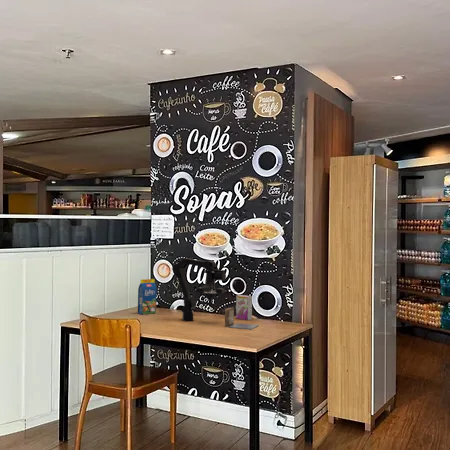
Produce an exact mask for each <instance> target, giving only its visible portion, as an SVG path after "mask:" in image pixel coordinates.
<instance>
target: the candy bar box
mask: <svg viewBox="0 0 450 450" xmlns="http://www.w3.org/2000/svg"><path fill="white" fill-rule="evenodd" d="M235 319H236V320H237V319H238V320H243V321H251V320H253V296H251V295H245V294H244V295H243V294H238V295H237V294H236V299H235Z"/></svg>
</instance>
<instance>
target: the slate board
mask: <svg viewBox="0 0 450 450" xmlns="http://www.w3.org/2000/svg"><path fill="white" fill-rule="evenodd" d="M257 326H258V327H259V326H260V325H259V324H251V323H249V324H248V323H234V325H232V326H229V327H228V328H230V329H240V330H241V329H242V330H253V329H256V328H258V327H257Z"/></svg>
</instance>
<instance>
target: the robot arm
mask: <svg viewBox="0 0 450 450" xmlns="http://www.w3.org/2000/svg"><path fill="white" fill-rule="evenodd" d="M188 265H191V266H197V267H200V268H203V269H204V271H203V272H202V273H203V274H205V278H206V279H205V283H204V284H203V286H202V287H197V288H196V289H195V292H196V293H201V292H202V293H203V295H206V297H207V300H208V302H209V304H212V302H213V300H214V298H215V296H216V295H217V294H226V290H225V288H222V287H221V288H216V286H215V285H216V281H225V280H226V279H227V274H226V272H225V270H224V269H219V267H218V265H217V263H216V261H214V260H199V259H194V258H189V257H185V258H183V259H181V260H180V261H178V262H177V263H176V264H173V265H172V267H171V271H172V273H173V275H174V276H175V277H176V278H177V279H178V283H179V287H180V289H181V292H182V296H183V305H182V307H181V308H180V311H181V312H182V319H181V320H182V322H183V321H184V322H193V321H194V313H193V312H194V311H195V309H196V307H197V303H198V302H197V300H196V297H195V296H193V295H192V294H191V292H190V289H189V286H188V282H187V279H186V277H185V276H186V275H185V273H186V271H185V269H186V268H187V267H188Z"/></svg>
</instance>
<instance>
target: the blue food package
mask: <svg viewBox="0 0 450 450" xmlns="http://www.w3.org/2000/svg"><path fill="white" fill-rule="evenodd" d="M137 290H138V291H137V293H138V294H137V314H138V315H153V314H157V295H158V294H157V293H158V291H157V285H156V282H155V278H149V279H148V278H147V279H142V278H141V279H140V283H139V284H138V289H137Z"/></svg>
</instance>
